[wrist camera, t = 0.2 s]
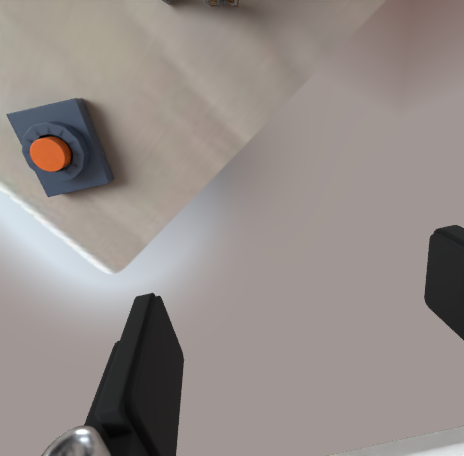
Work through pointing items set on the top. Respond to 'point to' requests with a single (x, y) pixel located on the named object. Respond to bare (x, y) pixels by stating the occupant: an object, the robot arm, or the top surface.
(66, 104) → the button box
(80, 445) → the robot arm
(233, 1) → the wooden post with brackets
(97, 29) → the top surface
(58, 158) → the button
